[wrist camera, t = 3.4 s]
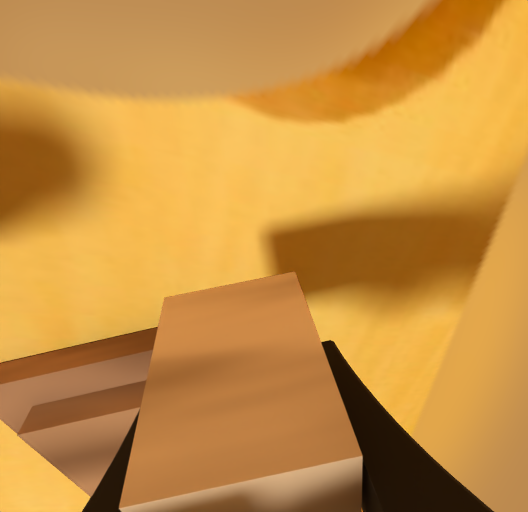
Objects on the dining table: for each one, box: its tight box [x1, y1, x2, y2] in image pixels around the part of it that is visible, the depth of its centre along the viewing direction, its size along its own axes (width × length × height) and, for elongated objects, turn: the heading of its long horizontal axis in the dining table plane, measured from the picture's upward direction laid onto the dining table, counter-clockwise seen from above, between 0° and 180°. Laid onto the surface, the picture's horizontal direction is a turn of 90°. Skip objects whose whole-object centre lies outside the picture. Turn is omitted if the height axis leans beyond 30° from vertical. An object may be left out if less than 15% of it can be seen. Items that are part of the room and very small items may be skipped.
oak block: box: [119, 271, 363, 512], centre depth 10 cm, size 4×4×6 cm
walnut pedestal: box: [0, 327, 158, 497], centre depth 19 cm, size 12×12×3 cm
